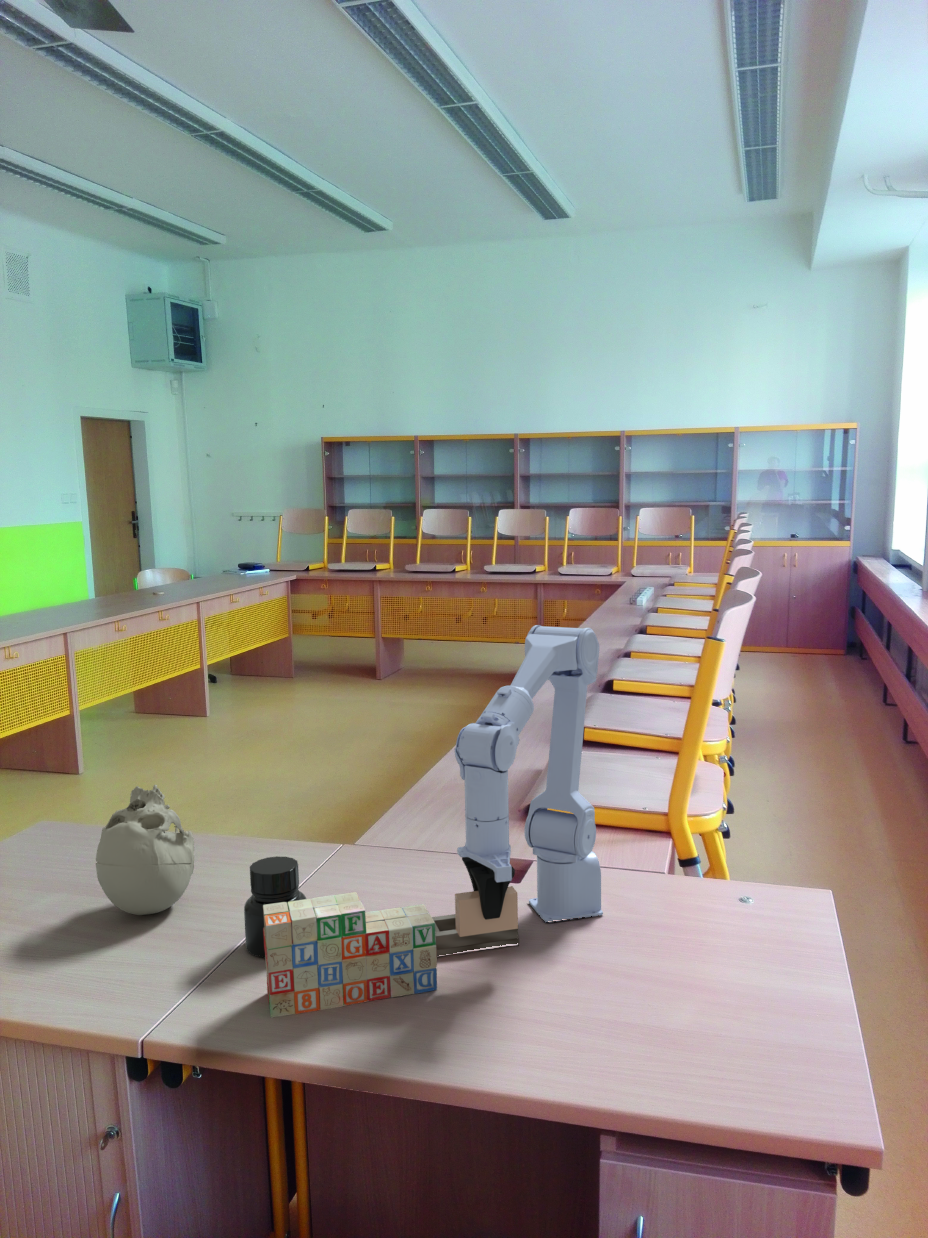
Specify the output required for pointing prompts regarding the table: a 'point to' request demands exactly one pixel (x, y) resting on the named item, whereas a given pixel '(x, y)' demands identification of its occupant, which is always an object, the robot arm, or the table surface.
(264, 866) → the ink bottle
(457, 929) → the tan rectangular block
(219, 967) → the table surface
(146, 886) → the skull
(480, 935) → the shallow rectangular tray
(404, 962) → the stack of blocks
